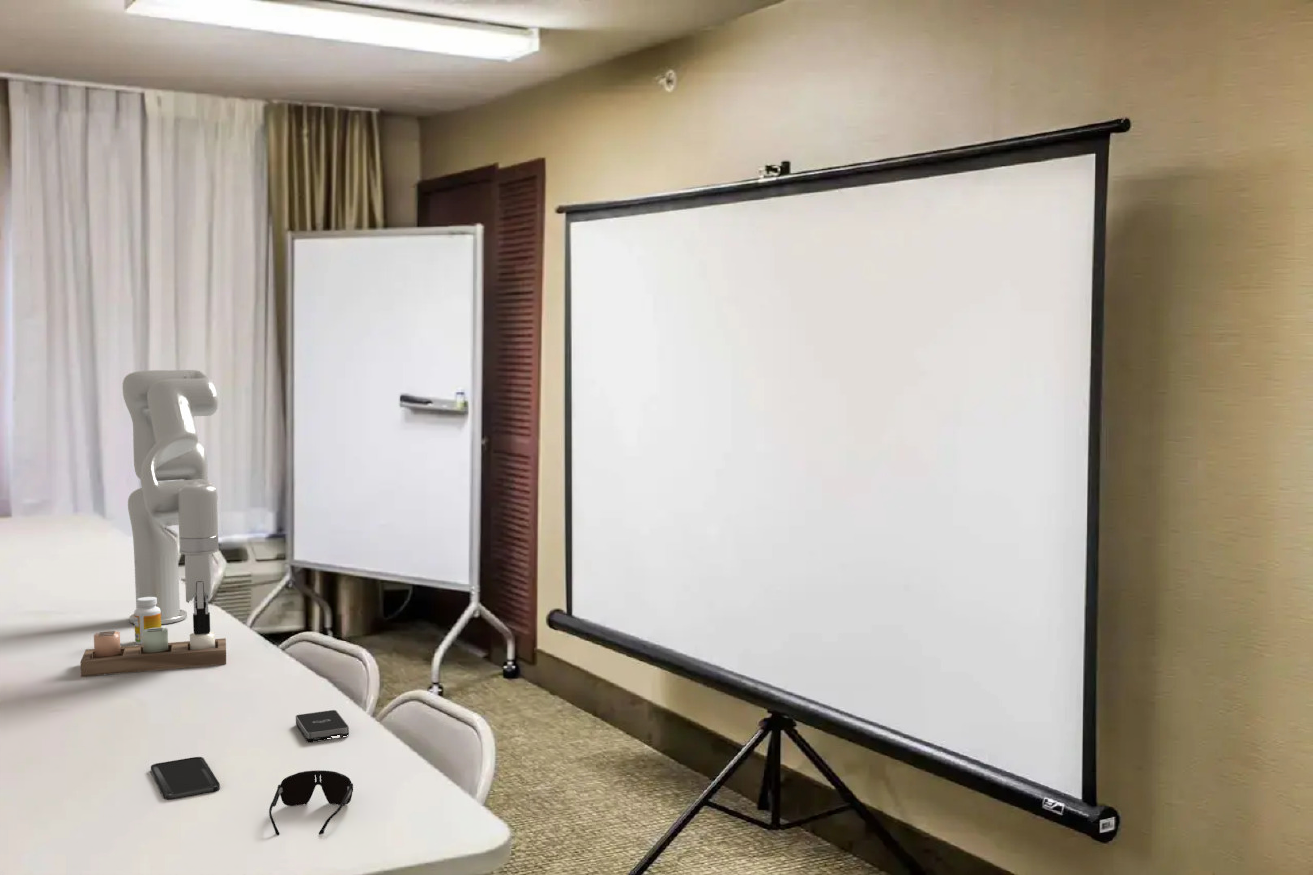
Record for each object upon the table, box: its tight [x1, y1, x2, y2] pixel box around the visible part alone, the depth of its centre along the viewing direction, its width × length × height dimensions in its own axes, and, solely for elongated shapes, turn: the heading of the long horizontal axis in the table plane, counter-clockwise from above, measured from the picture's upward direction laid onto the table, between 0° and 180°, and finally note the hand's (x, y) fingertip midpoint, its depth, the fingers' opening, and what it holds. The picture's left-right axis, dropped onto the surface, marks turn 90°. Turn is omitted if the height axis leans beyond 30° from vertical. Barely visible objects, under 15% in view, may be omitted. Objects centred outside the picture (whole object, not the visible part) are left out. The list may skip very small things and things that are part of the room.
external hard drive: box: [295, 709, 350, 743], centre depth 209 cm, size 7×11×2 cm, turn 26°
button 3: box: [93, 630, 121, 657], centre depth 248 cm, size 5×5×4 cm
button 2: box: [142, 627, 169, 653], centre depth 251 cm, size 5×5×4 cm
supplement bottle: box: [133, 597, 162, 645], centre depth 269 cm, size 5×5×10 cm
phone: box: [150, 756, 221, 801], centre depth 186 cm, size 8×1×15 cm
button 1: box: [189, 630, 216, 650], centre depth 254 cm, size 5×5×4 cm
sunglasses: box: [268, 769, 354, 836], centre depth 171 cm, size 10×12×5 cm
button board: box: [79, 637, 227, 677], centre depth 251 cm, size 10×27×3 cm, turn 109°
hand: (202, 632), depth 254 cm, fingers closed
